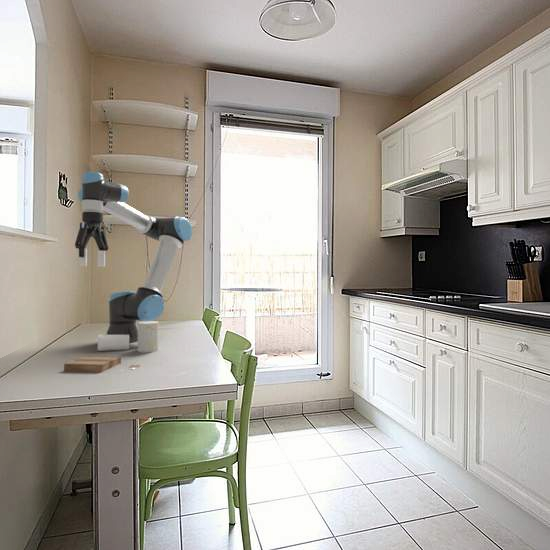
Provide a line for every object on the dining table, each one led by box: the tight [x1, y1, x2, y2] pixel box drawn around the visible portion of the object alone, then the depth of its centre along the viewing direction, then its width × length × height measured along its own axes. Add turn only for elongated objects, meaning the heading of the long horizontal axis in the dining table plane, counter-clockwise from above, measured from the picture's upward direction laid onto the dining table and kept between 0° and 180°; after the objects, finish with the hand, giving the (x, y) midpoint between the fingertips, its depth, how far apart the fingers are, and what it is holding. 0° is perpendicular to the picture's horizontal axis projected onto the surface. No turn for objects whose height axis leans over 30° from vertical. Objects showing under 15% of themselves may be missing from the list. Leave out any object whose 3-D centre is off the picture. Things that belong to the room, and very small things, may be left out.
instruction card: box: [119, 364, 141, 372], centre depth 140 cm, size 10×7×1 cm
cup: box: [137, 320, 160, 353], centre depth 170 cm, size 8×8×12 cm
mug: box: [97, 334, 130, 352], centre depth 173 cm, size 10×7×12 cm
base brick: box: [63, 355, 122, 373], centre depth 141 cm, size 13×13×3 cm
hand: (92, 266), depth 163 cm, fingers open, 13 cm apart
